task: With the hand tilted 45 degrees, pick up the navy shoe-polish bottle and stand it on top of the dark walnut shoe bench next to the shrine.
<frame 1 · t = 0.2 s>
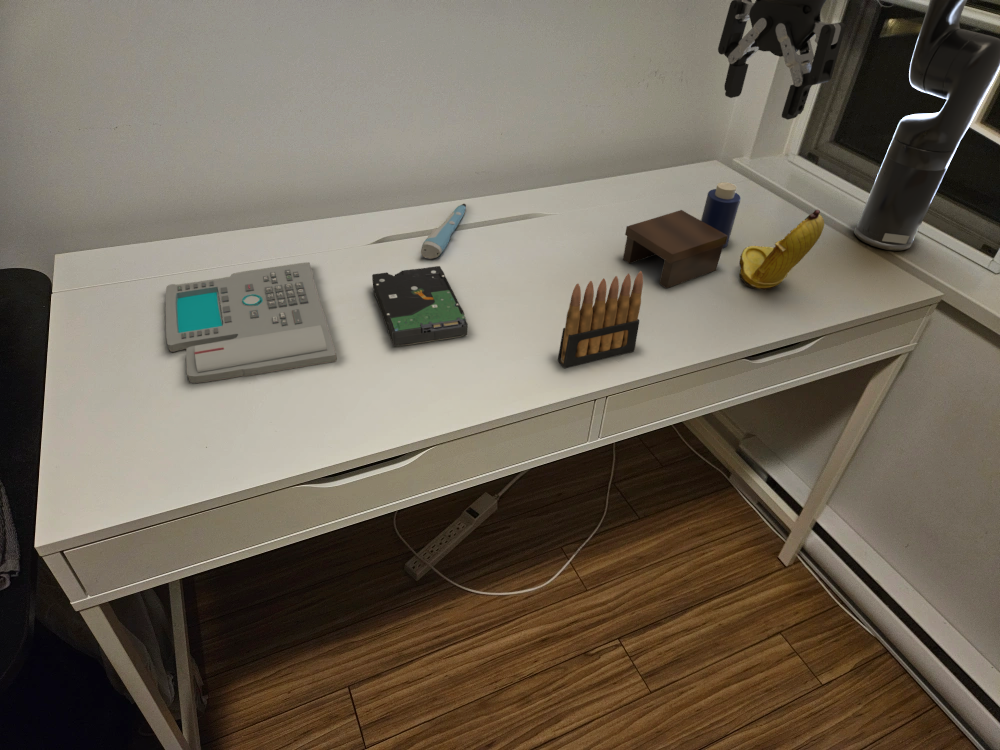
hand: (759, 106, 83), 29 cm above the table, tool pointing down, fingers open, 8 cm apart
shrine: (766, 286, 107), on the table
disk drive: (418, 313, 97), on the table
office telephone: (248, 324, 93), on the table
ammunition clip: (596, 356, 92), on the table
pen: (446, 234, 115), on the table
shoe bench: (669, 264, 111), on the table
polish bottle: (711, 241, 117), on the table
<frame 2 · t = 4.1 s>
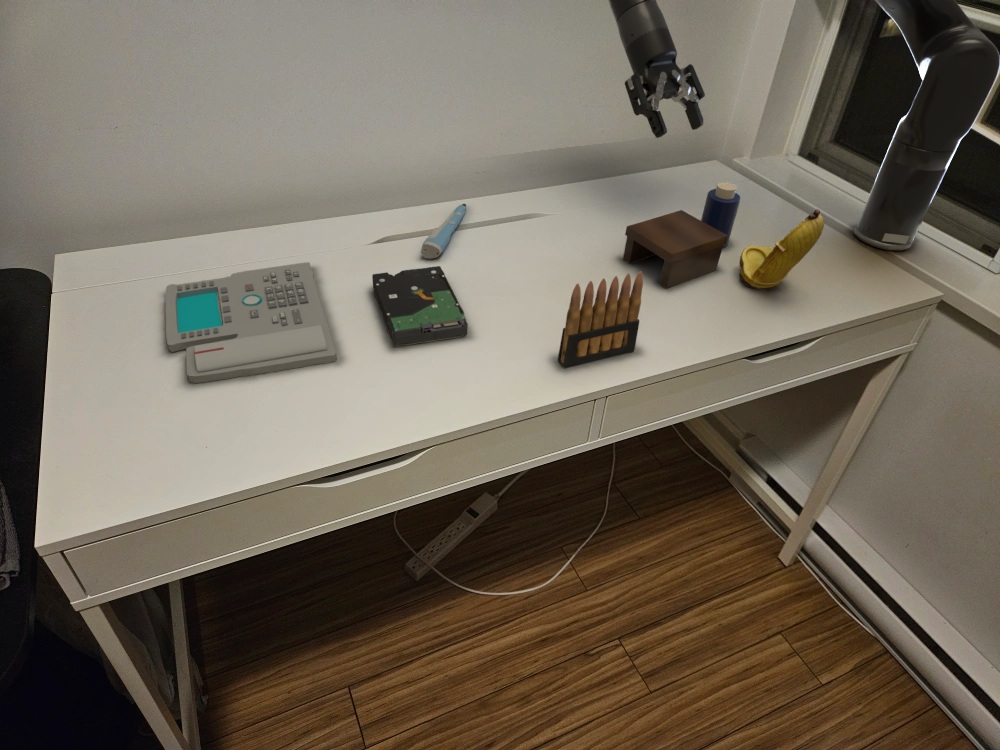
hand: (680, 131, 115), 15 cm above the table, tool tilted 45°, fingers open, 8 cm apart
nothing on the table moved.
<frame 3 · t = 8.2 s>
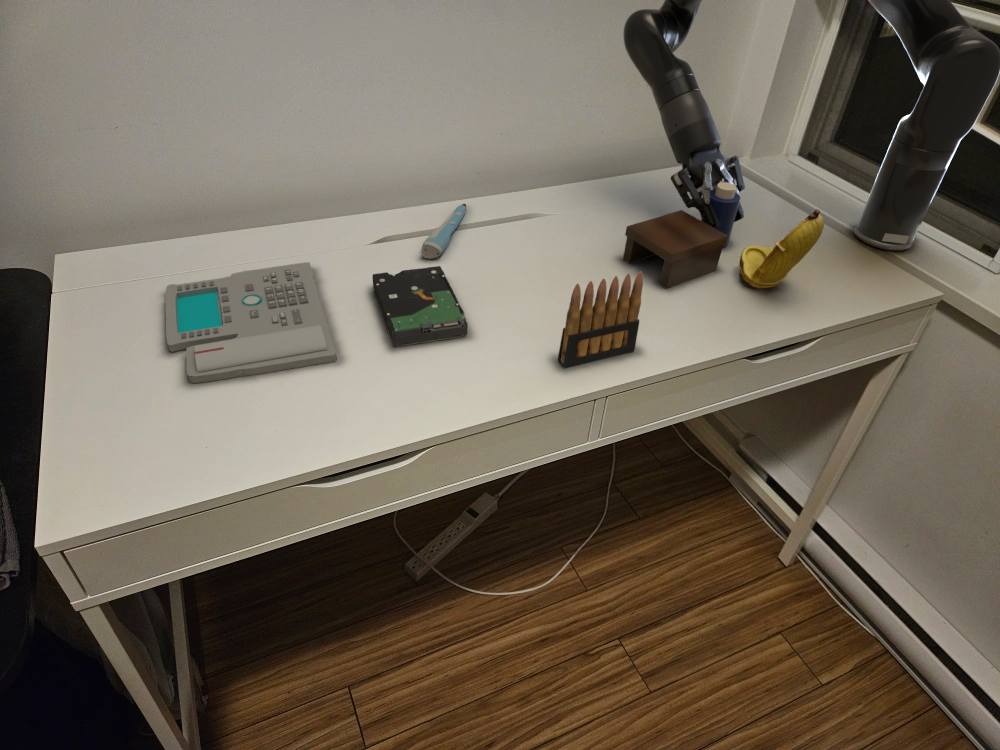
hand: (726, 223, 114), 4 cm above the table, tool tilted 45°, fingers closed on polish bottle, 5 cm apart
polish bottle: (711, 241, 117), on the table, touching gripper
everything else where it was.
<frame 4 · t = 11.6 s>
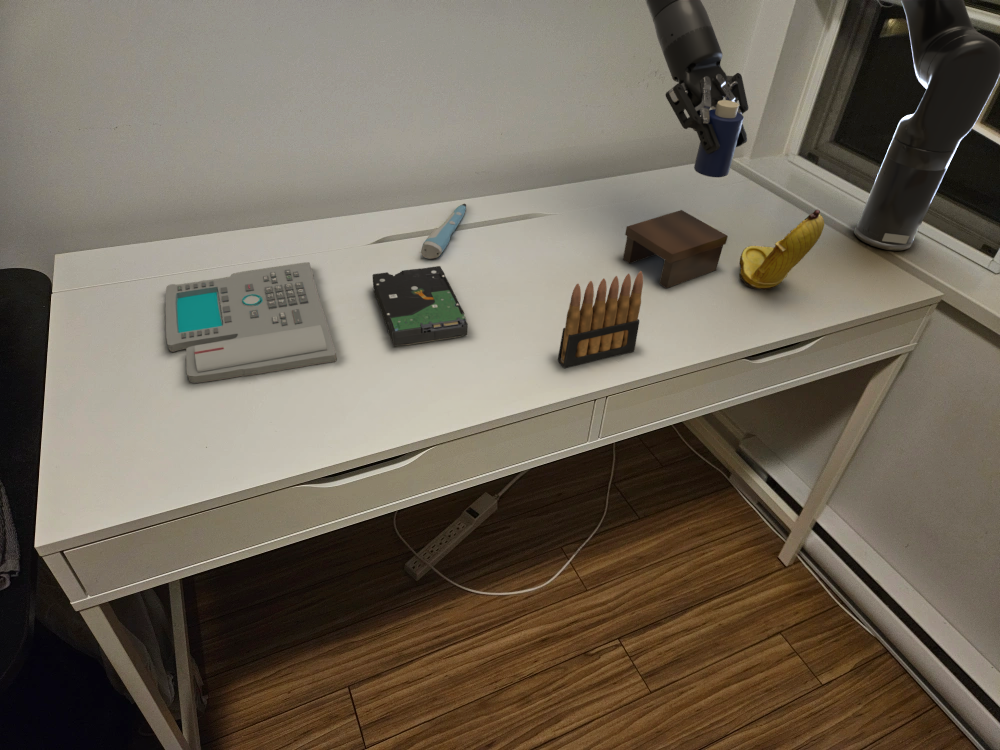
hand: (727, 147, 102), 18 cm above the table, tool tilted 45°, fingers closed on polish bottle, 5 cm apart
polish bottle: (711, 170, 106), point 14 cm above the table, touching gripper
everything else where it was.
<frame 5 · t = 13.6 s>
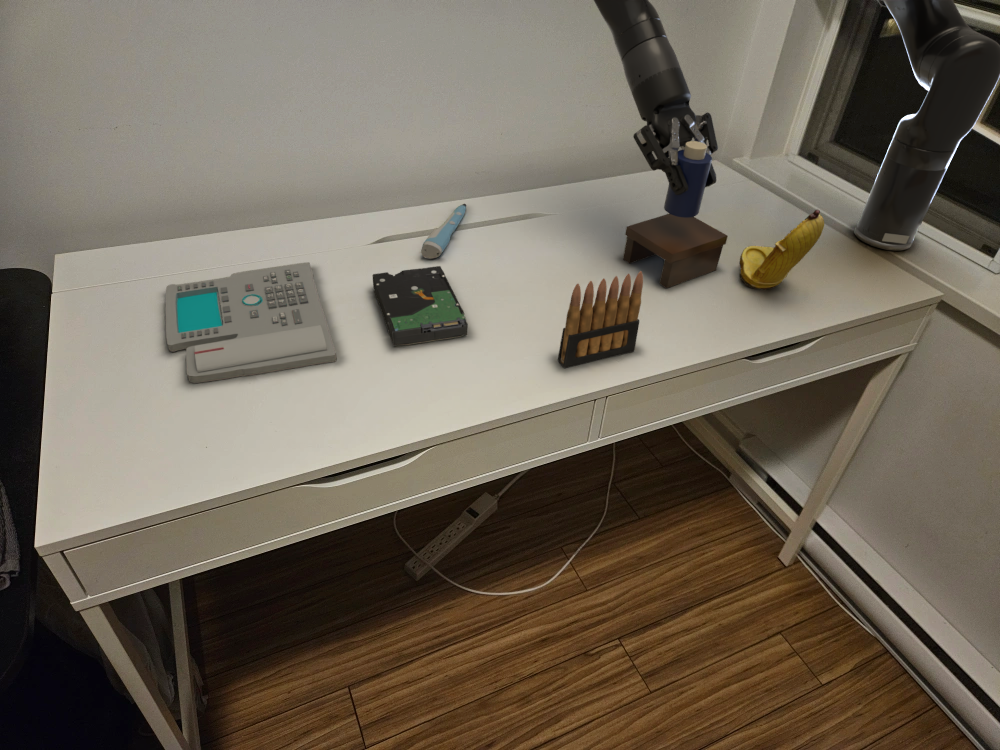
hand: (696, 188, 101), 14 cm above the table, tool tilted 45°, fingers closed on polish bottle, 5 cm apart
polish bottle: (681, 209, 105), point 9 cm above the table, touching gripper
everything else where it was.
when the fingers open (10 cm above the table, at t = 15.1 s): polish bottle stays where it is, resting on shoe bench.
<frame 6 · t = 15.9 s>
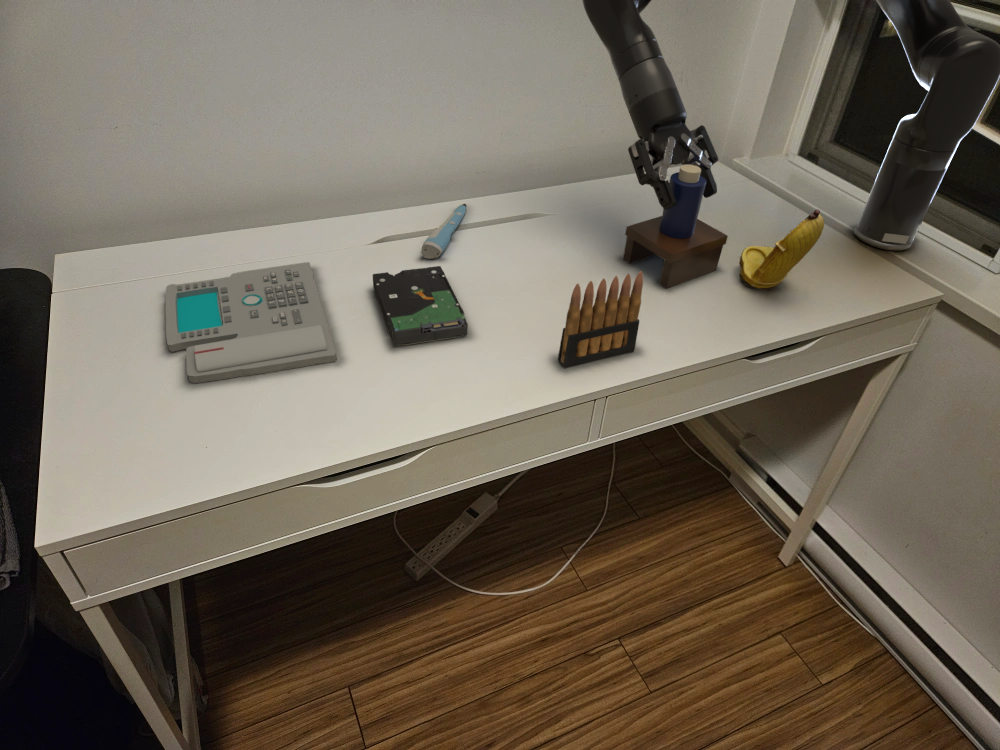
hand: (691, 201, 103), 11 cm above the table, tool tilted 45°, fingers open, 8 cm apart
polish bottle: (676, 230, 107), point 6 cm above the table, touching shoe bench
everything else where it was.
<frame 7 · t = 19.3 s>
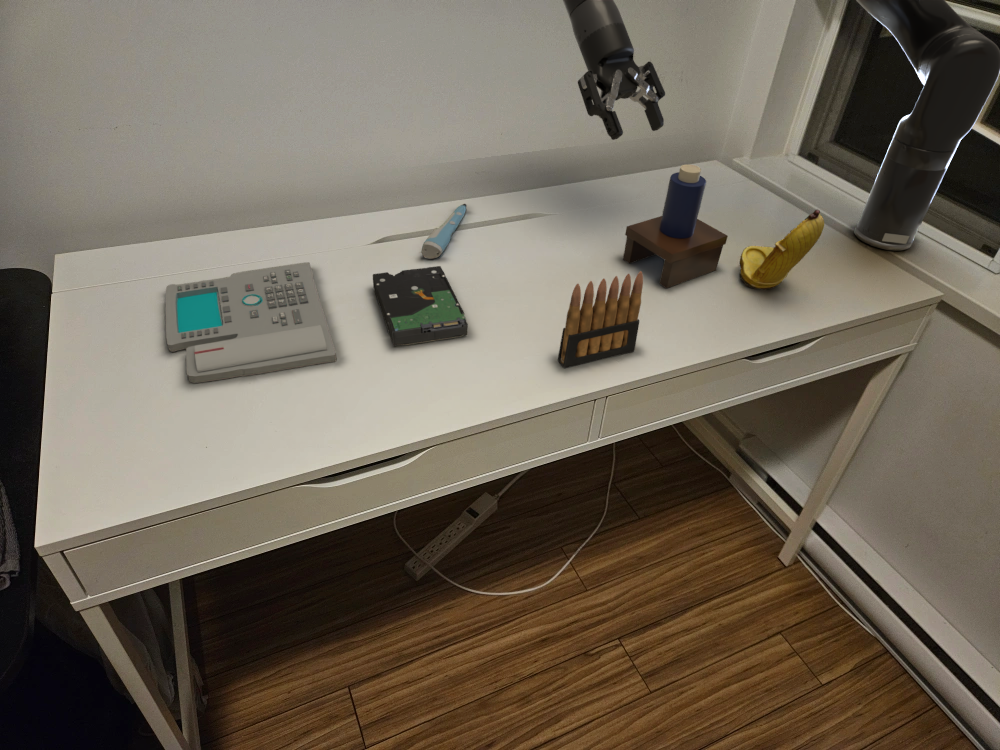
hand: (638, 132, 108), 17 cm above the table, tool tilted 45°, fingers open, 8 cm apart
nothing on the table moved.
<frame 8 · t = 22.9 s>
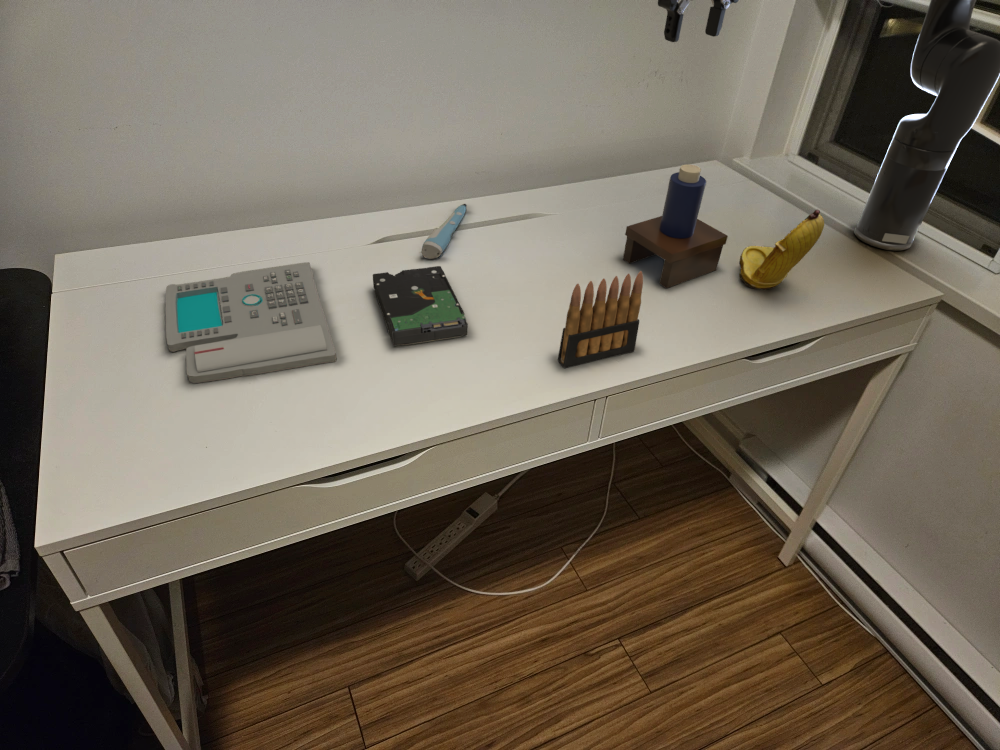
hand: (691, 38, 103), 30 cm above the table, tool pointing down, fingers open, 8 cm apart
nothing on the table moved.
at the end: polish bottle inside the target area on the shoe bench (0.1 cm from its centre), point 6.0 cm above the shoe bench's base; polish bottle tilted 0°; the gripper is holding nothing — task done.
